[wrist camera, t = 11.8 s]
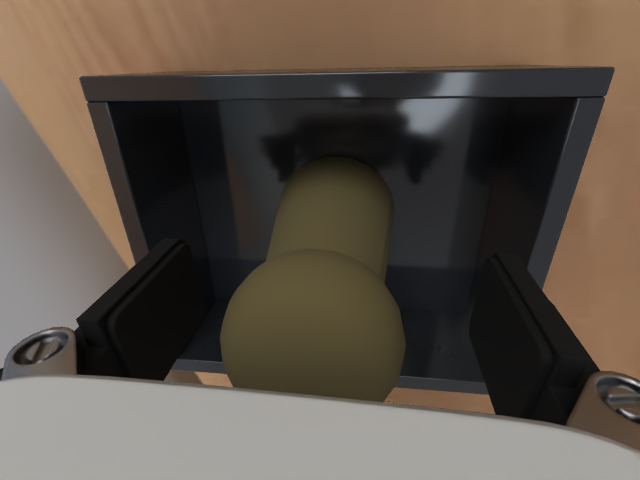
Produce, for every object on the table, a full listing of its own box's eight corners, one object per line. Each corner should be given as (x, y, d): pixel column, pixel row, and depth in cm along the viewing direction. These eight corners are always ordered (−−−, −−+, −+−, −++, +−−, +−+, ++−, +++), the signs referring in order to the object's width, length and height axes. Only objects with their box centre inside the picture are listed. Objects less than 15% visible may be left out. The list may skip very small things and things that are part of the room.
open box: (167, 71, 17) (77, 76, 12) (528, 65, 15) (617, 66, 10) (212, 298, 23) (166, 369, 18) (471, 313, 21) (507, 396, 16)
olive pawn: (287, 264, 20) (215, 456, 10) (271, 160, 17) (151, 288, 8) (394, 261, 19) (426, 468, 9) (394, 151, 16) (438, 282, 7)
